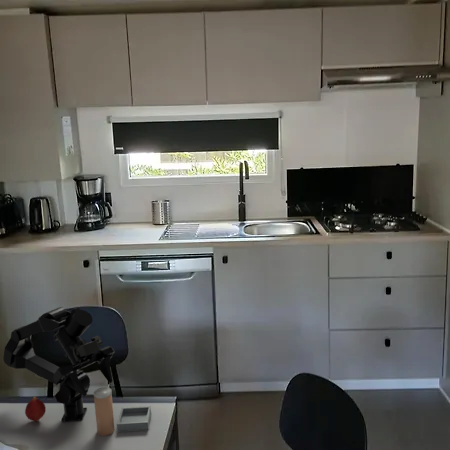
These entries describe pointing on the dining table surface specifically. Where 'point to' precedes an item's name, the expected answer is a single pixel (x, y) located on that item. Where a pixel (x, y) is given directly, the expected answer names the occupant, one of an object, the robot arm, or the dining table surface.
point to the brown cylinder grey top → (104, 411)
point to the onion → (35, 409)
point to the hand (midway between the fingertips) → (99, 388)
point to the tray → (134, 419)
